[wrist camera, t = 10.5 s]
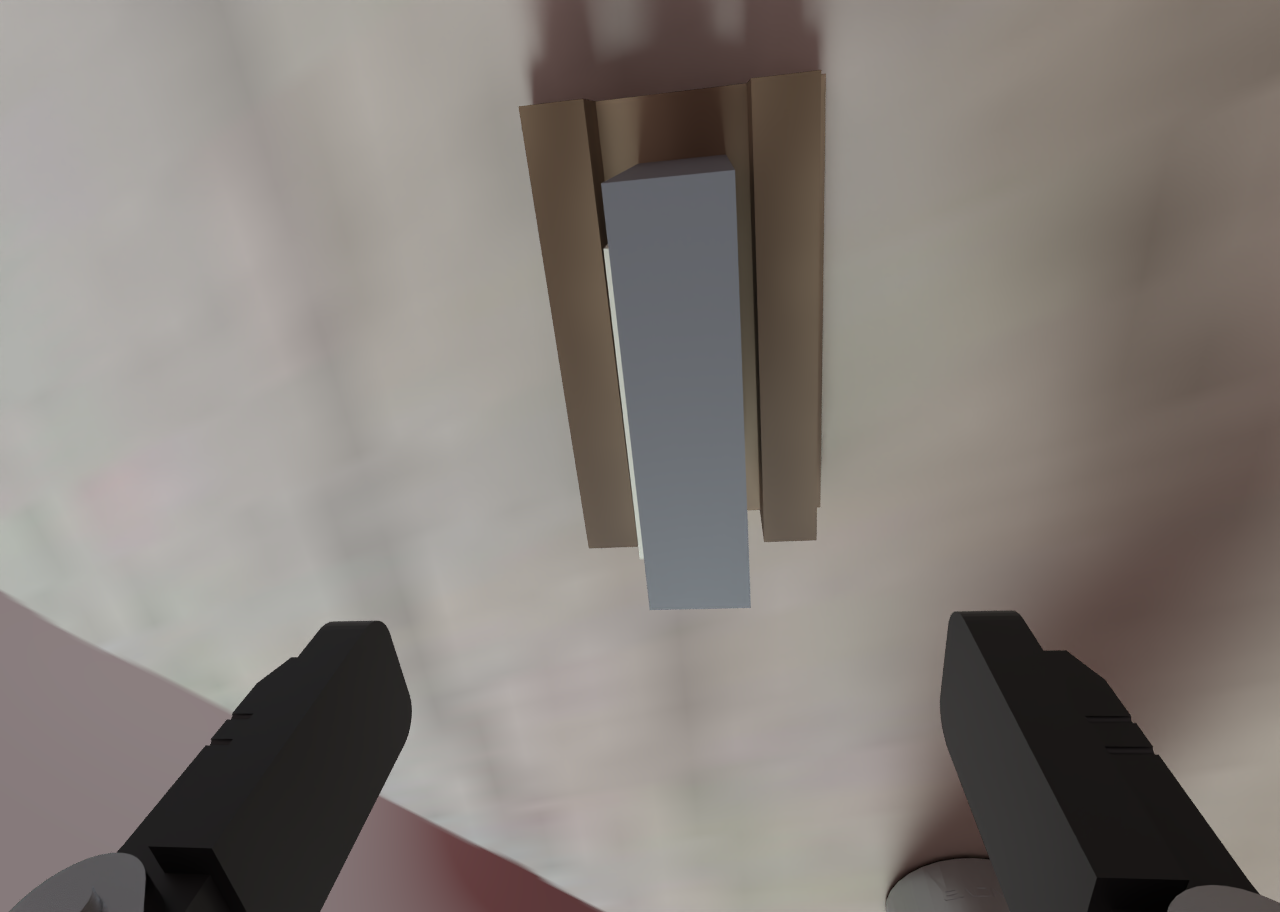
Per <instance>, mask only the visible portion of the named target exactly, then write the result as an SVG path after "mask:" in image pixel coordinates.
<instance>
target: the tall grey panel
mask: <svg viewBox="0 0 1280 912" xmlns="http://www.w3.org/2000/svg"><path fill="white" fill-rule="evenodd" d="M601 187H602V196H603V205H604V214H605V222H606V231H607V240H608V244H607V245H606V247H605V248H604V258H605V266H606V275H607V283H608V292H609V300H610V309H611V317H612V326H613V334H614V343H615V351H616V360H617V368H618V377H619V385H620V394H621V402H622V411H623V419H624V428H625V436H626V445H627V453H628V462H629V471H630V479H631V488H632V496H633V505H634V513H635V522H636V530H637V539H638V547H639V556H640V559H644V563H645V572H646V581H647V589H648V598H649V607H650V610H669V609H717V608H751V604H750V576H749V548H748V520H747V492H746V464H745V436H744V408H743V380H742V352H741V324H740V296H739V268H738V240H737V212H736V184H735V169H734V167H733V166H732V164H731V162H730V160H729V159H728V157H727V155H726V154H725V155H716V156H706V157H696V158H687V159H677V160H667V161H658V162H648V163H638V164H636V165H635V166H633V167H631V168H629V169H627V170H625V171H623V172H621V173H620V174H618V175H616V176H614V177H612V178H610V179H608V180H607V181H605V182H603V183H601Z"/></svg>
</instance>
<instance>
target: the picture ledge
mask: <svg viewBox="0 0 1280 912" xmlns="http://www.w3.org/2000/svg"><path fill="white" fill-rule="evenodd" d="M825 92H826V74H821V70H816V71H808V72H800V73H792V74H783V75H775V76H767V77H759V78H751V79H750V80H749V81H748V82H747V83H744V84H736V85H728V86H719V87H711V88H703V89H694V90H686V91H678V92H670V93H661V94H653V95H645V96H636V97H628V98H620V99H611V100H603V101H591V100H586V99H577V100H569V101H560V102H552V103H544V104H536V105H527V106H519V112H520V118H521V124H522V131H523V137H524V143H525V150H526V156H527V162H528V168H529V175H530V181H531V187H532V194H533V200H534V206H535V212H536V219H537V225H538V231H539V238H540V244H541V250H542V256H543V263H544V269H545V275H546V282H547V288H548V294H549V300H550V307H551V313H552V319H553V326H554V332H555V338H556V344H557V351H558V357H559V363H560V370H561V376H562V382H563V388H564V395H565V401H566V407H567V414H568V420H569V426H570V432H571V439H572V445H573V451H574V458H575V464H576V470H577V476H578V483H579V489H580V495H581V502H582V508H583V514H584V520H585V527H586V533H587V539H588V546H589V548H612V547H638V539H637V530H636V522H635V513H634V505H633V496H632V488H631V479H630V471H629V462H628V453H627V445H626V436H625V428H624V419H623V411H622V402H621V394H620V385H619V377H618V368H617V360H616V351H615V343H614V334H613V326H612V317H611V309H610V300H609V292H608V283H607V275H606V266H605V258H604V248H605V247H606V245H607V244H608V240H607V231H606V222H605V214H604V205H603V196H602V187H601V183H603V182H605V181H607V180H608V179H610V178H612V177H614V176H616V175H618V174H620V173H621V172H623V171H625V170H627V169H629V168H631V167H633V166H635V165H636V164H638V163H648V162H658V161H667V160H677V159H687V158H696V157H706V156H716V155H725V154H726V155H727V157H728V159H729V160H730V162H731V164H732V166H733V167H734V169H735V184H736V212H737V240H738V268H739V296H740V324H741V352H742V380H743V408H744V436H745V464H746V492H747V510H760V514H761V521H762V529H763V537H764V542H779V541H807V540H816V535H817V507H820V486H821V407H822V328H823V250H824V171H825Z"/></svg>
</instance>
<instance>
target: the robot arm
mask: <svg viewBox="0 0 1280 912" xmlns="http://www.w3.org/2000/svg"><path fill="white" fill-rule="evenodd" d="M940 713H941V722H942V728H943V733H944V737H945V741H946V745H947V748H948V750H949V753H950V756H951V758H952V761H953V764H954V766H955V769H956V771H957V774H958V777H959V779H960V782H961V785H962V787H963V790H964V792H965V795H966V798H967V800H968V803H969V806H970V808H971V811H972V813H973V816H974V819H975V821H976V824H977V827H978V829H979V832H980V834H981V837H982V840H983V842H984V845H985V848H986V850H987V853H988V855H989V858H990V860H989V859H978V858H963V859H951V860H946V861H940V862H936V863H933V864H930V865H927V866H924V867H921V868H919V869H917V870H915V871H913V872H911V873H909V874H908V875H906V876H905V877H904V878H903V879H901V880H900V881H899V882H898V883H897V884H896V885H895V886H894V887H893V889H892V890H891V891H890V894H889V896H888V898H887V901H886V912H1280V903H1279V902H1276V901H1274V900H1272V899H1269V898H1267V897H1265V896H1262V895H1260V894H1259V893H1258V892H1257V890H1256V889H1255V888H1254V887H1253V885H1252V884H1251V883H1250V882H1249V880H1248V879H1247V877H1246V876H1245V875H1244V873H1243V872H1242V871H1241V869H1240V868H1239V866H1238V865H1237V864H1236V862H1235V861H1234V859H1233V858H1232V857H1231V855H1230V854H1229V852H1228V851H1227V850H1226V848H1225V847H1224V845H1223V844H1222V843H1221V841H1220V840H1219V838H1218V837H1217V836H1216V834H1215V833H1214V831H1213V830H1212V829H1211V827H1210V826H1209V824H1208V823H1207V822H1206V820H1205V819H1204V817H1203V816H1202V815H1201V813H1200V812H1199V810H1198V809H1197V808H1196V806H1195V805H1194V803H1193V802H1192V801H1191V799H1190V798H1189V796H1188V795H1187V794H1186V792H1185V791H1184V789H1183V788H1182V787H1181V785H1180V784H1179V782H1178V781H1177V780H1176V778H1175V777H1174V776H1173V774H1172V773H1171V771H1170V770H1169V769H1168V767H1167V766H1166V764H1165V763H1164V762H1163V760H1162V759H1161V757H1160V756H1159V755H1155V754H1154V752H1153V746H1152V745H1151V743H1150V742H1149V741H1148V739H1147V738H1146V736H1145V735H1144V734H1143V732H1142V731H1141V729H1140V728H1139V727H1138V725H1137V724H1136V723H1132V721H1131V715H1130V714H1129V713H1128V711H1127V710H1126V708H1125V707H1124V706H1123V704H1122V703H1121V701H1120V700H1119V699H1118V697H1117V696H1116V694H1115V693H1114V692H1113V690H1112V689H1111V687H1110V686H1109V685H1108V683H1107V682H1106V681H1105V680H1104V679H1103V678H1102V677H1100V676H1099V675H1098V674H1096V673H1095V672H1094V671H1093V670H1091V669H1090V668H1089V667H1087V666H1086V665H1085V664H1083V663H1082V662H1081V661H1079V660H1078V659H1077V658H1075V657H1074V656H1073V655H1071V654H1070V653H1069V652H1067V651H1043V649H1042V648H1041V646H1040V645H1039V643H1038V641H1037V640H1036V638H1035V637H1034V635H1033V634H1032V632H1031V630H1030V629H1029V627H1028V626H1027V624H1026V623H1025V621H1024V620H1023V618H1022V617H1021V615H1020V614H1018V613H1017V612H1016V611H962V612H953V613H952V615H951V617H950V620H949V624H948V633H947V641H946V650H945V659H944V668H943V677H942V686H941V695H940ZM411 717H412V706H411V699H410V695H409V692H408V689H407V685H406V682H405V679H404V676H403V673H402V670H401V667H400V664H399V660H398V657H397V654H396V651H395V648H394V645H393V642H392V639H391V635H390V633H389V630H388V628H387V626H386V625H385V624H384V623H383V622H381V621H338V622H329V623H327V624H325V625H324V626H323V627H322V628H321V629H320V630H319V631H318V632H317V634H316V635H315V636H314V637H313V639H312V640H311V641H310V642H309V644H308V645H307V646H306V648H305V649H304V650H303V651H302V653H301V654H300V655H299V656H298V657H291V658H290V659H289V660H287V661H286V662H285V663H283V664H282V665H281V666H279V667H278V668H277V669H275V670H274V671H273V672H271V673H270V674H269V675H267V676H266V677H265V678H264V679H262V680H261V681H260V682H258V683H257V684H256V685H255V686H254V688H253V689H252V690H251V691H250V693H249V694H248V695H247V696H246V697H245V699H244V700H243V701H242V702H241V703H240V705H239V706H238V707H237V708H236V709H235V711H234V712H233V713H232V719H231V720H226V722H225V723H224V724H223V725H222V726H221V728H220V729H219V730H218V731H217V732H216V734H215V735H214V736H213V737H212V738H211V744H210V746H205V747H204V748H203V749H202V751H201V752H200V753H199V754H198V755H197V757H196V758H195V759H194V760H193V762H192V763H191V764H190V765H189V766H188V767H187V769H186V770H185V771H184V772H183V774H182V775H181V776H180V777H179V778H178V780H177V781H176V782H175V783H174V784H173V786H172V787H171V788H170V789H169V790H168V792H167V793H166V794H165V795H164V797H163V798H162V799H161V800H160V801H159V803H158V804H157V805H156V806H155V807H154V809H153V810H152V811H151V812H150V813H149V815H148V816H147V817H146V818H145V819H144V821H143V822H142V823H141V824H140V825H139V827H138V828H137V829H136V830H135V832H134V833H133V834H132V835H131V836H130V838H129V839H128V840H127V841H126V842H125V844H124V845H123V846H122V847H121V848H120V849H119V850H118V852H117V853H108V854H102V855H98V856H94V857H91V858H88V859H85V860H83V861H81V862H78V863H76V864H73V865H72V866H70V867H68V868H66V869H64V870H62V871H60V872H58V873H57V874H55V875H54V876H52V877H50V878H49V879H47V880H46V881H44V882H43V883H42V884H40V885H39V886H38V887H36V888H35V889H33V890H32V891H31V892H30V893H29V894H27V895H26V896H25V897H24V898H23V899H22V900H21V901H19V902H18V903H17V904H16V905H15V906H14V907H13V908H12V909H11V910H10V911H9V912H320V910H321V909H322V907H323V905H324V903H325V901H326V899H327V897H328V895H329V893H330V891H331V889H332V887H333V885H334V883H335V881H336V879H337V877H338V875H339V873H340V871H341V869H342V867H343V865H344V863H345V861H346V859H347V857H348V855H349V853H350V851H351V849H352V847H353V845H354V843H355V841H356V839H357V837H358V835H359V833H360V831H361V829H362V827H363V825H364V824H365V821H366V820H367V817H368V816H369V814H370V812H371V809H372V808H373V806H374V804H375V802H376V800H377V798H378V796H379V794H380V792H381V790H382V788H383V786H384V784H385V782H386V780H387V778H388V776H389V774H390V772H391V770H392V768H393V766H394V764H395V762H396V760H397V758H398V756H399V754H400V752H401V750H402V748H403V746H404V744H405V742H406V740H407V737H408V734H409V730H410V725H411Z"/></svg>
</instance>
